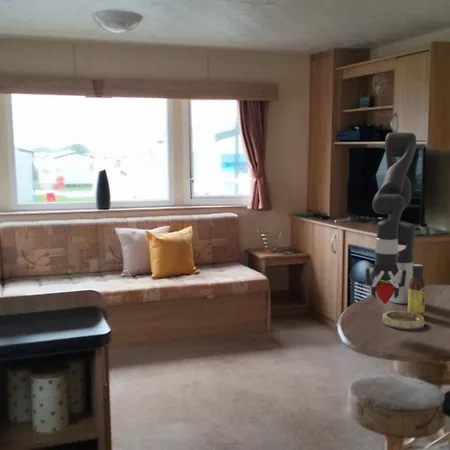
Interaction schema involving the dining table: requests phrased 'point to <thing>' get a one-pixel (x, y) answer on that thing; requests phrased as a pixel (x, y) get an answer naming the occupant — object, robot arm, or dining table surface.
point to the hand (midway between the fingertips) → (384, 297)
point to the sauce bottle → (416, 291)
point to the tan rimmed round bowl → (403, 320)
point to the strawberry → (385, 290)
